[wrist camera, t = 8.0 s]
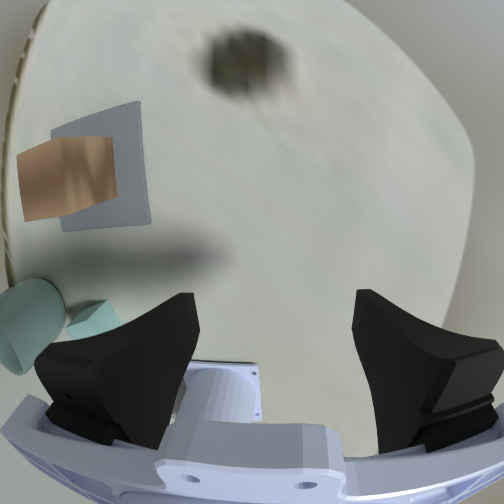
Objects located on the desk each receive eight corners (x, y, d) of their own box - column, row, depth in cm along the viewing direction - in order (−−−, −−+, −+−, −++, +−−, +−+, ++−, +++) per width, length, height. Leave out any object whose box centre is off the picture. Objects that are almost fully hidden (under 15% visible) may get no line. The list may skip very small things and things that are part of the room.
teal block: (127, 331, 26) (110, 354, 22) (104, 338, 27) (86, 359, 23) (107, 299, 25) (86, 320, 21) (84, 308, 26) (64, 327, 22)
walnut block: (118, 196, 20) (67, 215, 14) (75, 203, 21) (24, 222, 15) (112, 136, 19) (58, 136, 13) (69, 149, 19) (16, 155, 13)
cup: (61, 267, 24) (-3, 313, 15) (83, 330, 27) (35, 384, 17) (24, 269, 25) (-31, 306, 16) (44, 324, 28) (-1, 367, 18)
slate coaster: (151, 222, 22) (148, 224, 21) (66, 230, 23) (62, 232, 22) (140, 101, 18) (137, 100, 18) (54, 130, 19) (50, 130, 19)
